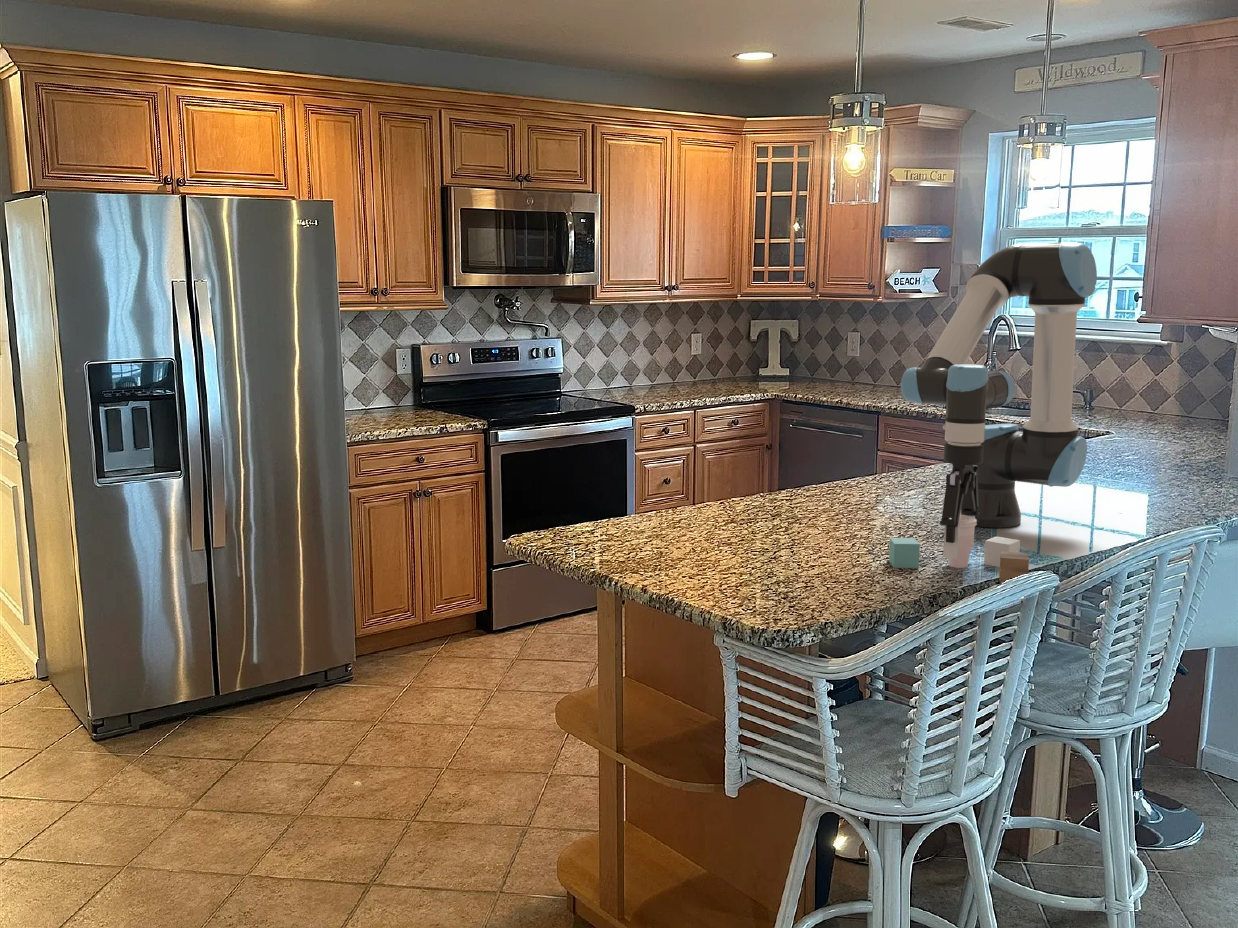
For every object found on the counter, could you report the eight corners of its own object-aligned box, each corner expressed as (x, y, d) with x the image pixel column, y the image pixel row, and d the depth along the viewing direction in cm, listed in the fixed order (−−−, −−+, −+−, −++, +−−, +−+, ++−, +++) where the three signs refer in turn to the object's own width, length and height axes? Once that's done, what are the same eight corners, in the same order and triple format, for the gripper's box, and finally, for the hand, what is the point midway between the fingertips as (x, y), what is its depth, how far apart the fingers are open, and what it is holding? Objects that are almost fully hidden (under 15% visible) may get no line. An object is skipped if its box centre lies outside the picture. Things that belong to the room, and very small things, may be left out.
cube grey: (994, 559, 221) (996, 536, 220) (1018, 564, 218) (1020, 540, 217) (984, 564, 218) (985, 540, 217) (1007, 568, 214) (1009, 544, 213)
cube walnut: (999, 576, 209) (1000, 551, 208) (1026, 578, 207) (1028, 553, 207) (999, 583, 204) (1001, 557, 203) (1027, 585, 203) (1029, 559, 202)
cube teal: (888, 561, 220) (889, 537, 219) (913, 561, 220) (914, 538, 219) (893, 568, 215) (894, 543, 214) (918, 568, 215) (919, 544, 214)
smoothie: (936, 566, 216) (939, 498, 214) (948, 559, 221) (951, 493, 219) (967, 571, 212) (971, 502, 210) (979, 564, 217) (982, 496, 215)
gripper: (961, 434, 224) (956, 538, 227) (927, 449, 205) (922, 561, 209) (998, 437, 220) (992, 543, 223) (966, 452, 201) (961, 567, 205)
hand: (958, 552), depth 216 cm, fingers open, 10 cm apart
